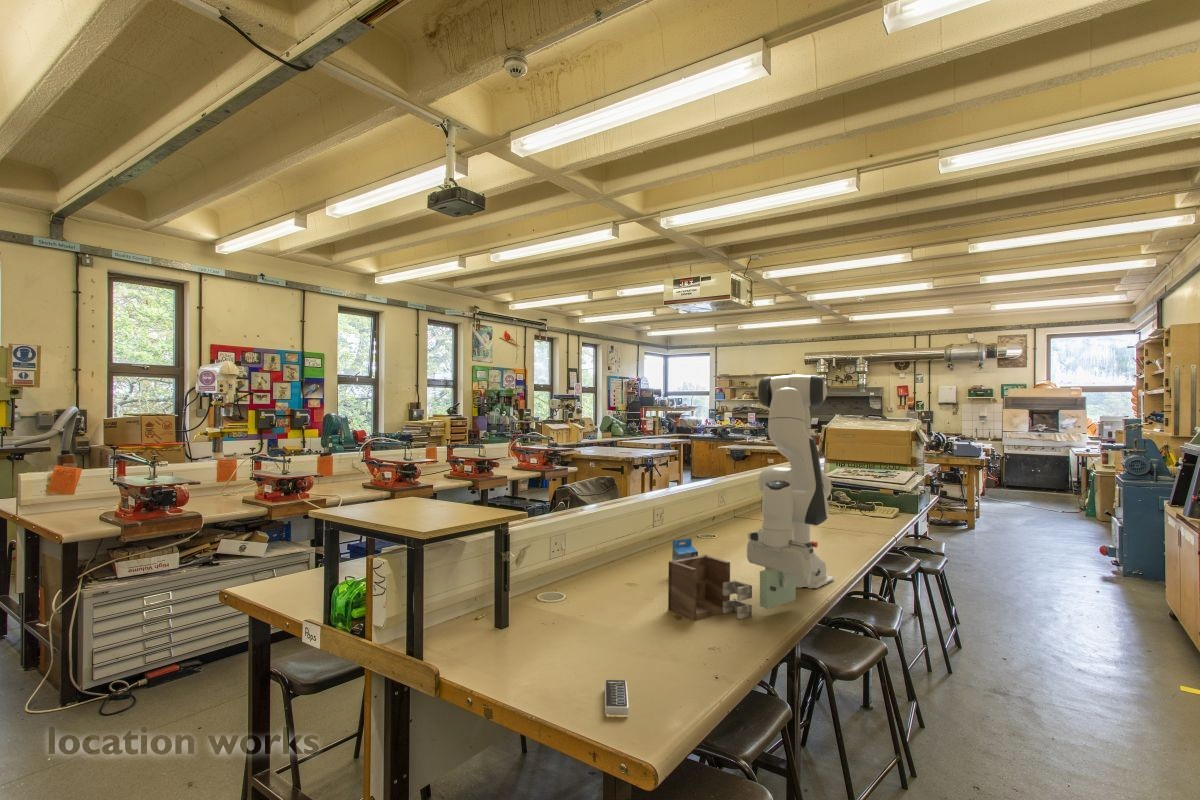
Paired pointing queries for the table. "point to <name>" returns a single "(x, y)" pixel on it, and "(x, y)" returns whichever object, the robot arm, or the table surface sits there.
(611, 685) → the multiport hub
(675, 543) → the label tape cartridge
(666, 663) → the table surface
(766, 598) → the door
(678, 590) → the cabinet
